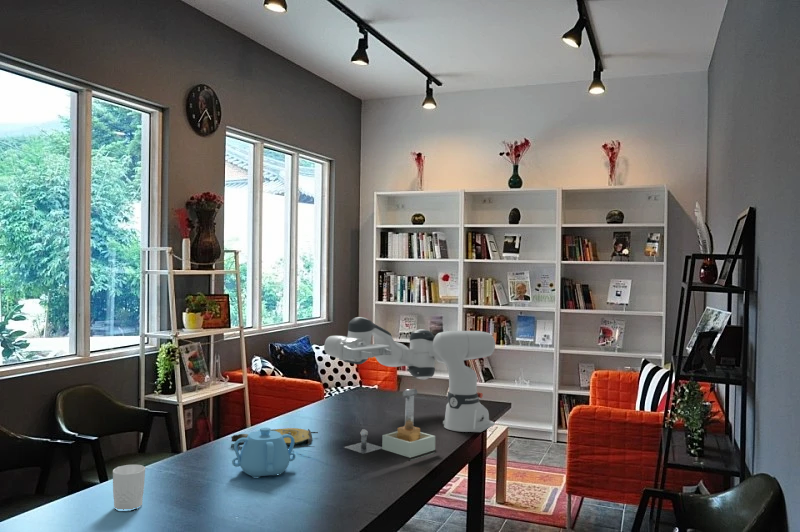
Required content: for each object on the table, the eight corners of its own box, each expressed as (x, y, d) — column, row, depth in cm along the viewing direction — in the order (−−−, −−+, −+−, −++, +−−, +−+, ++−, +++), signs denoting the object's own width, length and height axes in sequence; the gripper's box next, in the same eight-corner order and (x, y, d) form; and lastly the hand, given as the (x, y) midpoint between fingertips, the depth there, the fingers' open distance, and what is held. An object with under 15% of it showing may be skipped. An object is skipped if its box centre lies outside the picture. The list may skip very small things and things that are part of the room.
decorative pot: (225, 474, 194) (226, 430, 194) (261, 460, 208) (261, 419, 208) (267, 485, 186) (268, 438, 186) (301, 469, 201) (301, 426, 200)
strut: (407, 446, 225) (409, 387, 225) (419, 450, 221) (421, 389, 221) (397, 449, 221) (398, 389, 221) (409, 453, 217) (410, 391, 217)
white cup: (118, 501, 171) (118, 464, 171) (148, 501, 171) (149, 464, 171) (107, 513, 163) (108, 474, 163) (138, 513, 164) (139, 474, 164)
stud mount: (364, 445, 229) (364, 424, 229) (384, 451, 222) (384, 429, 222) (343, 450, 222) (343, 429, 222) (363, 457, 215) (363, 434, 215)
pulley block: (235, 421, 232) (318, 423, 234) (235, 436, 233) (318, 438, 235) (226, 438, 218) (314, 440, 220) (227, 454, 219) (314, 455, 221)
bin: (407, 445, 230) (407, 428, 230) (434, 453, 222) (435, 436, 222) (382, 452, 221) (382, 435, 221) (410, 461, 212) (410, 443, 212)
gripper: (374, 355, 252) (400, 359, 242) (335, 360, 237) (361, 365, 227) (375, 339, 252) (401, 343, 242) (336, 343, 237) (362, 347, 227)
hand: (381, 354), depth 235 cm, fingers open, 8 cm apart
